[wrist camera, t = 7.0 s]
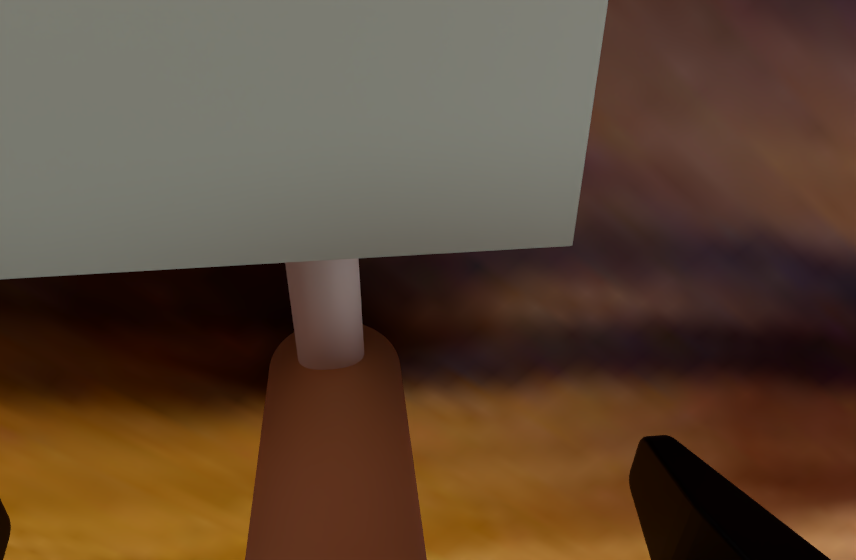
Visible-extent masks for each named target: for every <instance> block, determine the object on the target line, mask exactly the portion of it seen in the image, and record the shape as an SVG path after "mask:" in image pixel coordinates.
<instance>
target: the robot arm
mask: <svg viewBox="0 0 856 560" xmlns="http://www.w3.org/2000/svg"><path fill="white" fill-rule="evenodd" d="M629 484H630V490H631V493H632V497H633V500H634V503H635V507H636V510H637V514H638V517H639V520H640V524H641V527H642V531H643V534H644V537H645V541H646V544H647V548H648V551H649V554H650V558H651V560H830V559H829V558H828V557H827V556H825V555H824V554H823V553H821V552H820V551H819V550H818V549H816V548H815V547H814V546H812V545H811V544H810V543H808V542H807V541H806V540H805V539H803V538H802V537H801V536H799V535H798V534H797V533H796V532H794V531H793V530H792V529H790V528H789V527H788V526H787V525H785V524H784V523H783V522H781V521H780V520H779V519H777V518H776V517H775V516H774V515H772V514H771V513H770V512H768V511H767V510H766V509H765V508H763V507H762V506H761V505H759V504H758V503H757V502H756V501H754V500H753V499H752V498H750V497H749V496H748V495H746V494H745V493H744V492H743V491H741V490H740V489H739V488H737V487H736V486H735V485H734V484H732V483H731V482H730V481H728V480H727V479H726V478H725V477H723V476H722V475H721V474H719V473H718V472H717V471H716V470H714V469H713V468H712V467H710V466H709V465H708V464H706V463H705V462H704V461H703V460H701V459H700V458H699V457H697V456H696V455H695V454H694V453H692V452H691V451H690V450H688V449H687V448H686V447H685V446H683V445H682V444H681V443H679V442H678V441H677V440H675V439H674V438H672V437H670V436H667V435H660V436H646V437H643V438H642V439H641V440H640V442H639V444H638V448H637V451H636V454H635V457H634V461H633V464H632V467H631V470H630V475H629ZM10 530H11V524H10V519H9V516H8V514H7V512H6V510H5V508H4V506H3V504H2V502H1V499H0V560H3V558H4V555H5V551H6V548H7V544H8V541H9V537H10Z"/></svg>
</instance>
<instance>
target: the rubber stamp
mask: <svg viewBox="0 0 856 560" xmlns="http://www.w3.org/2000/svg"><path fill="white" fill-rule="evenodd" d="M607 5H608V0H0V279H14V278H32V277H49V276H66V275H83V274H100V273H117V272H134V271H151V270H168V269H185V268H202V267H219V266H236V265H253V264H270V263H285V266H286V273H287V281H288V288H289V295H290V303H291V310H292V318H293V325H294V332H293V333H292V334H290V335H289V336H288V337H287V338H285V339H284V340H283V341H282V342H281V343H280V345H279V346H278V347H277V349H276V350H275V352H274V354H273V356H272V358H271V362H270V367H269V375H268V383H267V391H266V399H265V407H264V415H263V423H262V430H261V438H260V446H259V454H258V462H257V470H256V478H255V486H254V494H253V502H252V510H251V518H250V526H249V534H248V542H247V549H246V557H245V560H427V559H426V552H425V544H424V537H423V529H422V522H421V515H420V507H419V500H418V493H417V485H416V478H415V470H414V463H413V456H412V448H411V441H410V434H409V426H408V419H407V411H406V404H405V397H404V389H403V382H402V375H401V367H400V361H399V357H398V354H397V352H396V350H395V348H394V347H393V345H392V344H391V343H390V342H389V340H388V339H387V338H386V337H384V336H383V335H382V334H381V333H379V332H378V331H376V330H374V329H372V328H370V327H368V326H366V325H363V324H362V307H361V291H360V275H359V259H358V258H373V257H390V256H407V255H424V254H441V253H458V252H475V251H492V250H509V249H526V248H543V247H560V246H572V244H573V237H574V230H575V223H576V217H577V210H578V203H579V196H580V189H581V183H582V176H583V169H584V162H585V155H586V148H587V142H588V135H589V128H590V121H591V114H592V107H593V101H594V94H595V87H596V80H597V73H598V67H599V60H600V53H601V46H602V39H603V32H604V26H605V19H606V12H607Z"/></svg>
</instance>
